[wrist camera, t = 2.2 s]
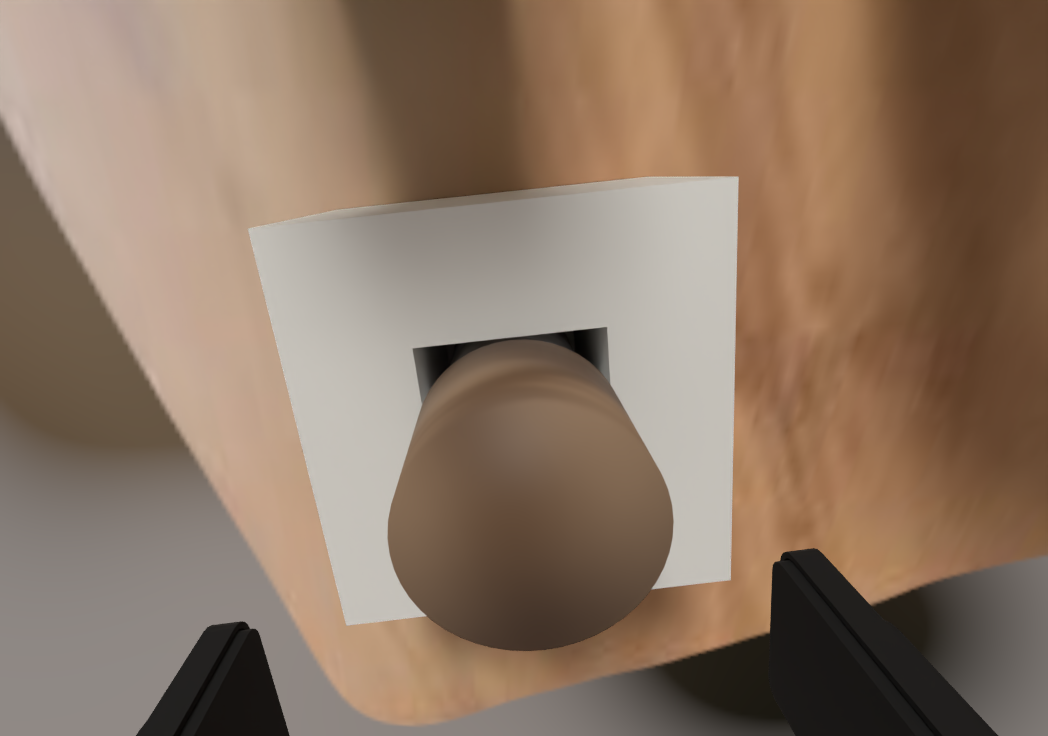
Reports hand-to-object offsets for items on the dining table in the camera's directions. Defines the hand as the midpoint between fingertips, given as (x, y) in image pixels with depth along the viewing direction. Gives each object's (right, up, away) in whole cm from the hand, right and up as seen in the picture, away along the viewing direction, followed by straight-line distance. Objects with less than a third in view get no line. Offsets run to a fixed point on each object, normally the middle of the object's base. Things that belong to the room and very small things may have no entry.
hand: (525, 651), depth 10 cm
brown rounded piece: (-1, +6, +17) cm, 18 cm away
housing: (-1, +6, +18) cm, 19 cm away
